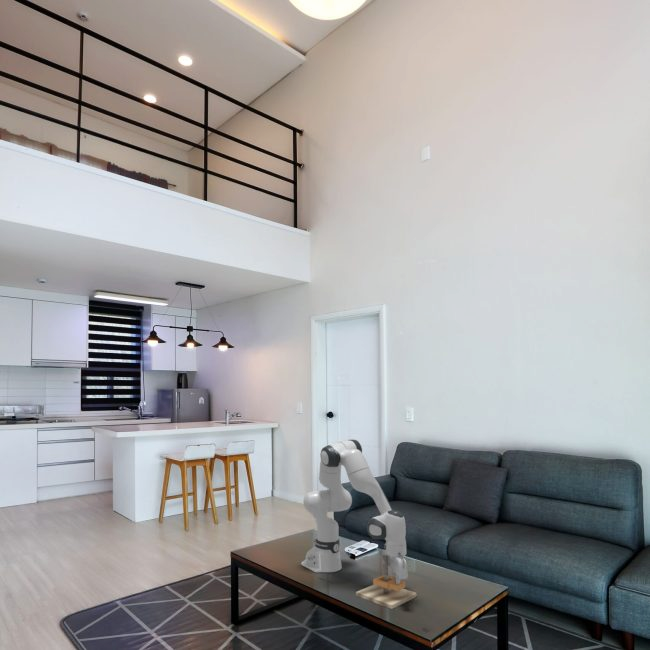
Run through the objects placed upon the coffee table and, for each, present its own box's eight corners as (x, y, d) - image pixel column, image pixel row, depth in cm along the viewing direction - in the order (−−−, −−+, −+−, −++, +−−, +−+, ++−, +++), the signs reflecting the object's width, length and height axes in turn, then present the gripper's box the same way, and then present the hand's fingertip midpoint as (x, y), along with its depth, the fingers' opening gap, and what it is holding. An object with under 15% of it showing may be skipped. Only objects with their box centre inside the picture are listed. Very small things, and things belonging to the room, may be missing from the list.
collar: (373, 583, 224) (373, 579, 224) (384, 579, 229) (384, 574, 230) (395, 591, 215) (395, 586, 215) (406, 586, 221) (406, 581, 221)
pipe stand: (356, 595, 224) (355, 555, 226) (381, 584, 236) (380, 546, 239) (391, 609, 210) (391, 566, 212) (416, 596, 223) (415, 556, 225)
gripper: (410, 556, 212) (411, 591, 210) (396, 542, 232) (397, 574, 230) (396, 557, 211) (397, 592, 209) (383, 543, 231) (383, 575, 229)
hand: (397, 582), depth 220 cm, fingers closed
